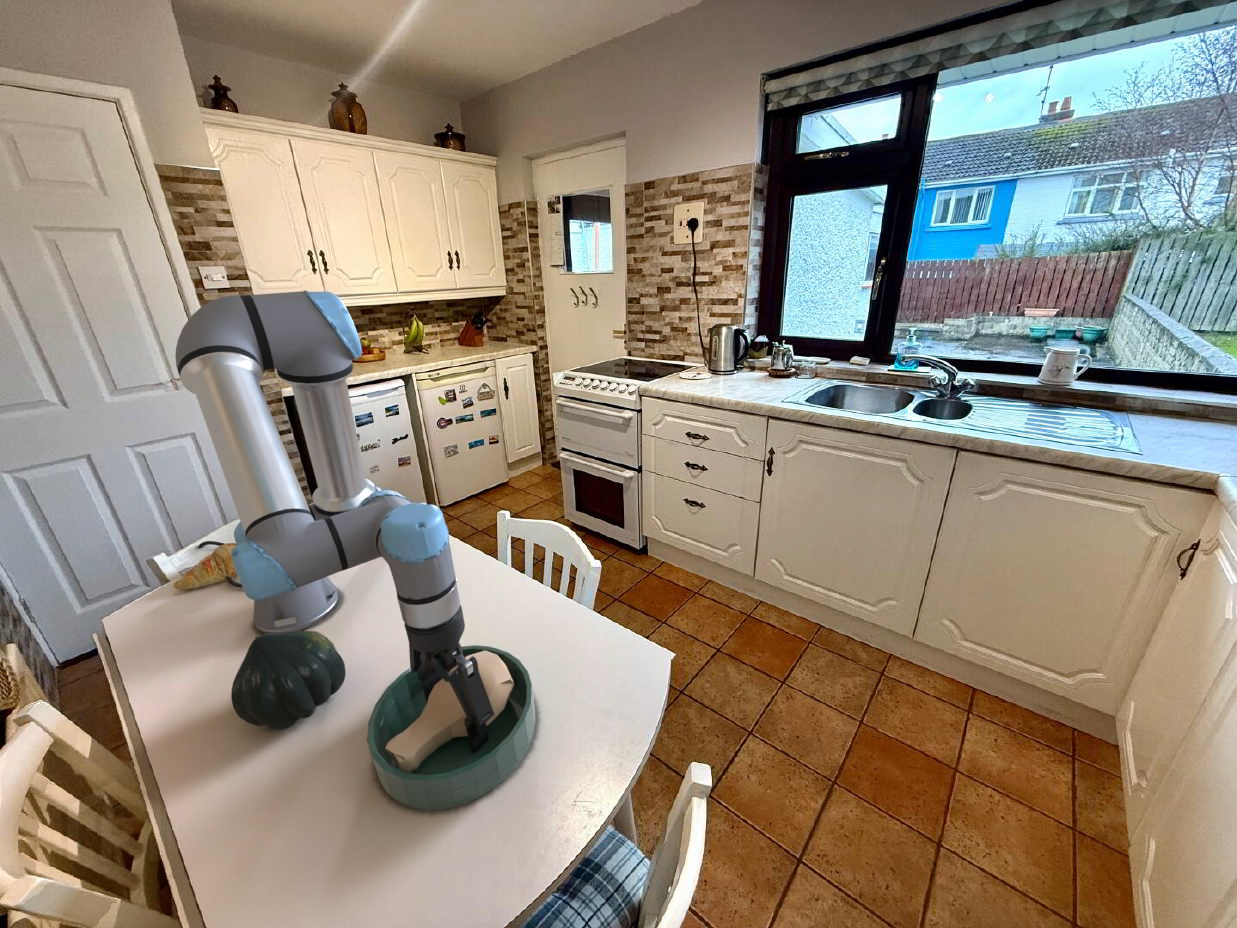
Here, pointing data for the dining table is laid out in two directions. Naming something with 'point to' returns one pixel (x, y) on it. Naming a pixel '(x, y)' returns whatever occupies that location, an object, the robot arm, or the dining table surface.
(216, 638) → the dining table surface
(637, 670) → the dining table surface
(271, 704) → the squash
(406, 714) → the bowl
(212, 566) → the croissant
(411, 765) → the squash
